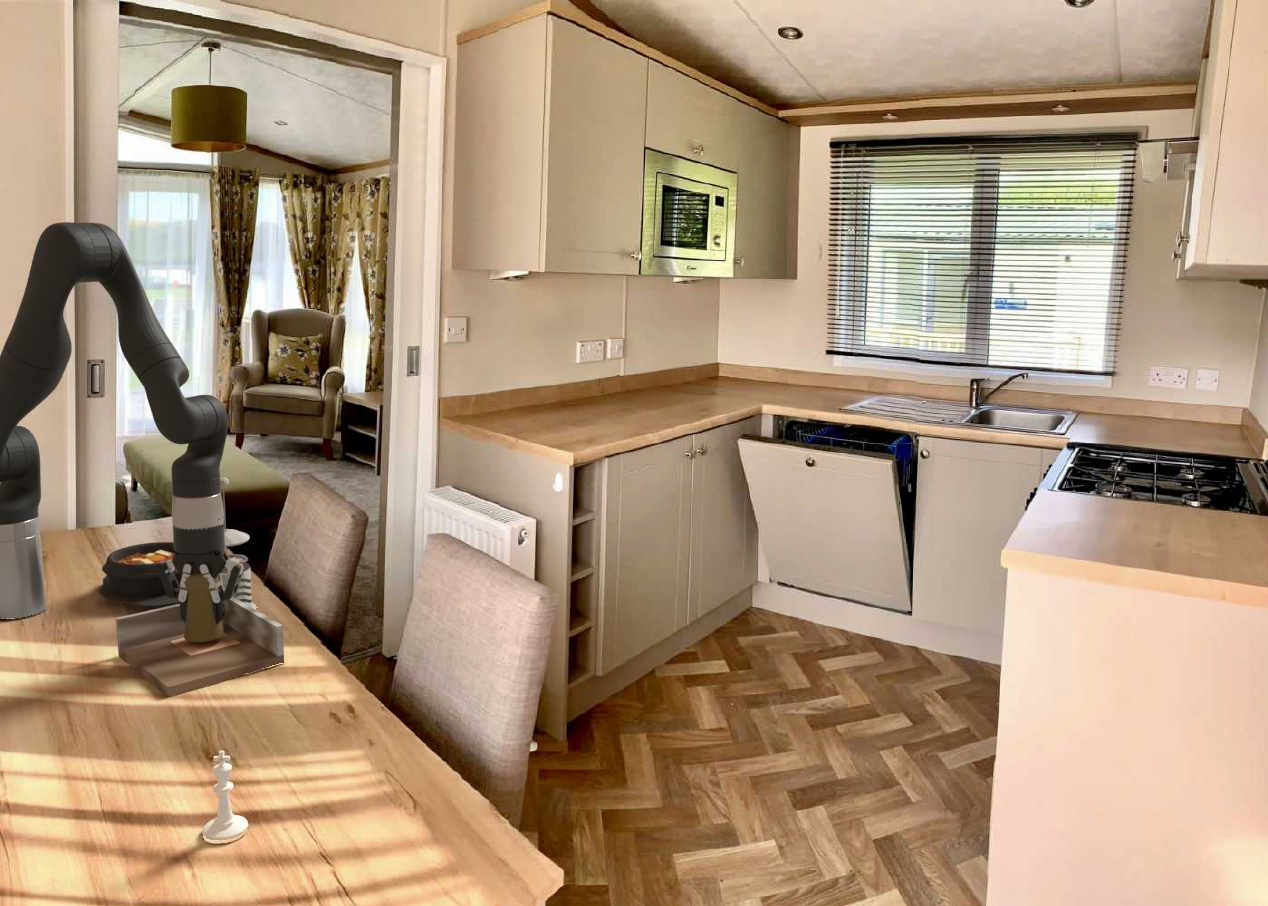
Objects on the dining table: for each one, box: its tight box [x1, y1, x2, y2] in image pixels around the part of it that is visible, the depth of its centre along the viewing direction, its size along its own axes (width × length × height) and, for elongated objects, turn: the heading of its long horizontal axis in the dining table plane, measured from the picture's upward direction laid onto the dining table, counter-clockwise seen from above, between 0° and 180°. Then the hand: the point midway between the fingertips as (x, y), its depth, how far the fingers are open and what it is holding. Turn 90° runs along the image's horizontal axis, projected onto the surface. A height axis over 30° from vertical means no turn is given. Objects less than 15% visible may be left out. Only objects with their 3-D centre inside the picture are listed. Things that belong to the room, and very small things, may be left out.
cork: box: [184, 573, 224, 642], centre depth 160 cm, size 6×6×11 cm
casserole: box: [98, 541, 182, 609], centre depth 186 cm, size 25×19×8 cm
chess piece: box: [202, 750, 249, 841], centre depth 111 cm, size 5×5×10 cm
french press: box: [220, 477, 258, 610], centre depth 176 cm, size 10×12×25 cm
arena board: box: [115, 595, 285, 698], centre depth 157 cm, size 20×18×6 cm
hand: (203, 621), depth 160 cm, fingers closed on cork, 4 cm apart
